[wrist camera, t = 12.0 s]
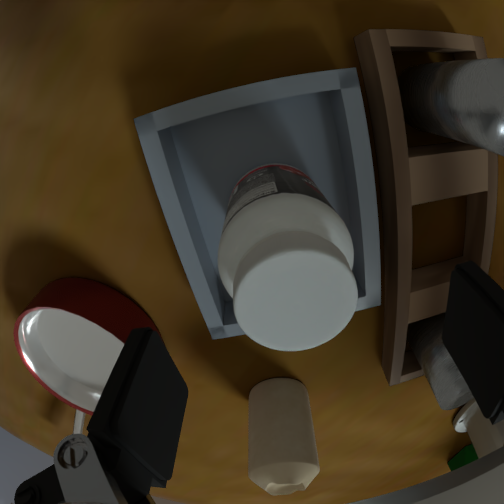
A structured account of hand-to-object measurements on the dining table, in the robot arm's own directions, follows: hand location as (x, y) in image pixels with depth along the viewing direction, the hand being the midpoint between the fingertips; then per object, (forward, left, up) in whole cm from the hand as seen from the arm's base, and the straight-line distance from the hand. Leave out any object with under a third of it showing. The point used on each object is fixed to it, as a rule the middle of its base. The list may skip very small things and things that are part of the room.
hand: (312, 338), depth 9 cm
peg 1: (-11, -6, -11) cm, 16 cm away
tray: (0, -1, -11) cm, 11 cm away
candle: (+3, +17, -11) cm, 21 cm away
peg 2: (-11, +12, -11) cm, 20 cm away
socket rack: (-11, +3, -11) cm, 16 cm away
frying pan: (+23, +15, -12) cm, 30 cm away
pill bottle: (0, -1, -11) cm, 11 cm away
